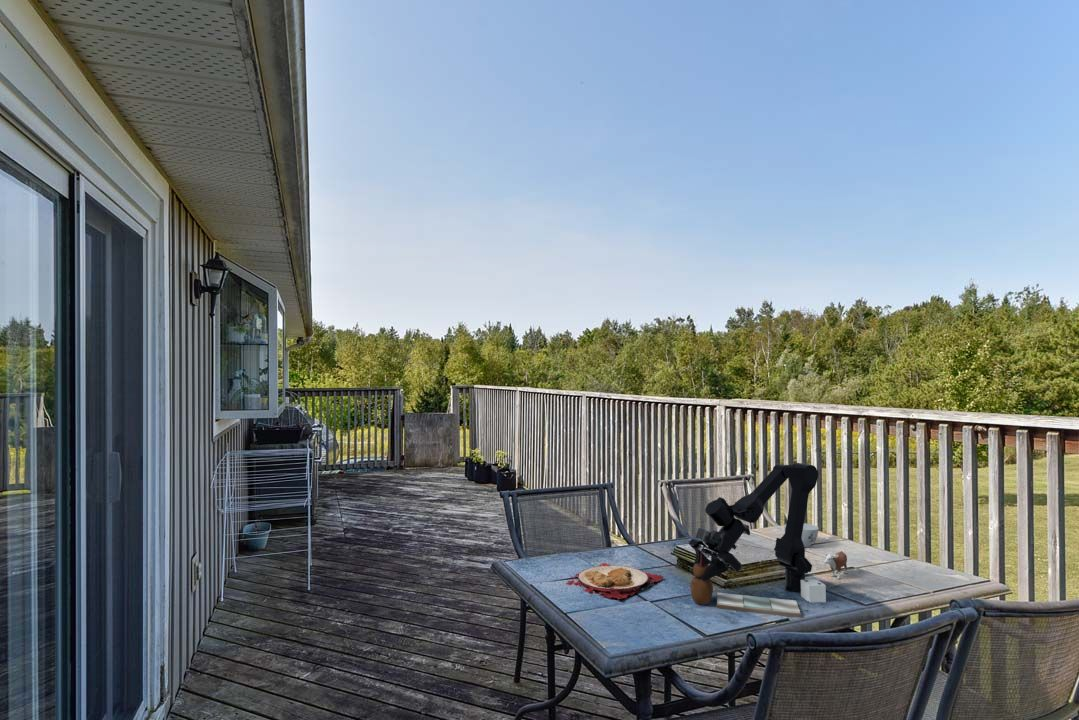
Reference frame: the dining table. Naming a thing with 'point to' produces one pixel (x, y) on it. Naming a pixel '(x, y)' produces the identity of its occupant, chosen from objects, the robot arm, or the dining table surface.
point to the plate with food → (614, 580)
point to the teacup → (808, 534)
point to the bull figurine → (837, 563)
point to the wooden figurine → (701, 584)
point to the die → (813, 590)
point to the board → (758, 604)
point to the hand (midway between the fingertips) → (697, 577)
